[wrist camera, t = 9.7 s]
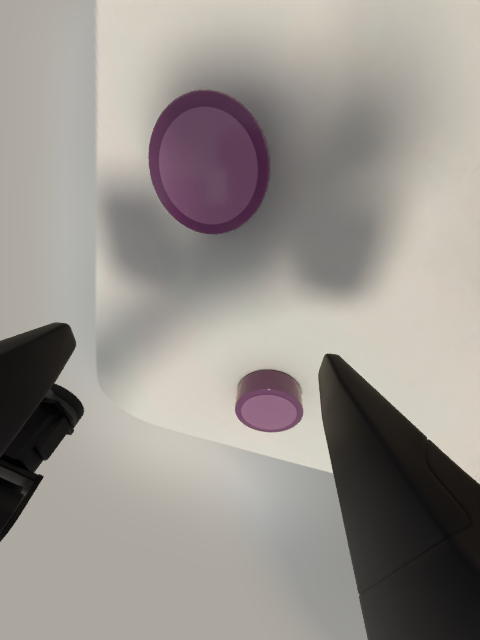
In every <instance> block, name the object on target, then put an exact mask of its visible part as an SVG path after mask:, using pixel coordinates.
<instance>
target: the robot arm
mask: <svg viewBox="0 0 480 640" xmlns="http://www.w3.org/2000/svg"><path fill="white" fill-rule="evenodd" d="M75 347H76V341H75V338H74V335H73V333H72V330H71V327H70V326H69V325H68V324H66V323H52V324H49V325H46V326H43V327H40V328H37V329H34V330H31V331H29V332H25V333H23V334H19V335H16V336H14V337H11V338H7V339H5V340H2V341H0V541H1V540H2V539H3V538H4V537H5V535H6V534H7V533H8V532H9V530H10V529H11V528H12V526H13V525H14V523H15V522H16V520H17V519H18V517H19V515H20V514H21V512H22V511H23V509H24V508H25V506H26V505H27V503H28V501H29V500H30V498H31V496H32V495H33V493H34V492H35V490H36V488H37V487H38V485H39V484H40V482H41V480H42V479H43V476H42V475H40V474H39V475H37V474H35V473H34V472H35V471H36V469H37V468H38V467H39V465H40V464H41V463H42V461H43V460H47V459H48V458H49V457H50V456H51V454H52V453H53V452H54V450H55V449H56V448H57V446H58V445H59V443H60V442H61V441H62V439H63V438H64V437H65V435H66V434H68V435H71V434H72V433H73V432H74V430H73V427H72V425H71V423H70V421H69V419H68V417H67V415H66V413H65V411H64V409H63V407H62V405H61V403H60V402H59V401H57V400H51V399H44V397H45V396H46V394H47V393H48V392H49V390H50V389H51V387H52V386H53V384H54V383H55V381H56V380H57V378H58V376H59V375H60V373H61V371H62V370H63V368H64V366H65V364H66V363H67V361H68V359H69V358H70V356H71V355H72V353H73V351H74V349H75ZM318 378H319V390H320V401H321V412H322V420H323V426H324V431H325V435H326V440H327V445H328V450H329V454H330V459H331V464H332V469H333V474H334V478H335V483H336V488H337V493H338V497H339V502H340V507H341V512H342V517H343V522H344V526H345V531H346V535H347V541H348V546H349V550H350V555H351V560H352V564H353V570H354V574H355V578H356V584H357V589H358V593H359V594H360V595H359V599H360V604H361V609H362V614H363V618H364V623H365V628H366V633H367V637H368V640H480V484H479V483H477V482H476V481H475V480H474V479H473V478H472V477H470V476H469V475H468V474H467V473H466V472H465V471H463V470H462V469H461V468H460V467H459V466H458V465H457V464H456V463H454V462H453V461H452V460H451V459H450V458H449V457H448V456H447V455H446V454H445V453H443V452H442V451H441V450H440V449H439V448H438V447H437V446H436V445H435V444H434V443H433V442H432V441H430V440H427V437H426V436H425V435H424V434H423V433H422V432H421V431H420V430H419V429H417V428H416V427H415V426H414V425H413V424H412V423H411V422H410V421H409V420H408V419H407V418H406V417H405V416H403V415H402V414H401V413H400V412H399V411H398V410H397V409H396V408H395V407H394V406H393V405H392V404H391V403H389V402H388V401H387V400H386V399H385V398H384V397H383V396H382V395H381V394H380V393H379V392H378V391H377V390H376V389H374V388H373V387H372V386H371V385H370V384H369V383H368V382H367V381H366V380H365V379H364V378H363V377H362V376H360V375H359V374H358V373H357V372H356V371H355V370H354V369H353V368H352V367H351V366H350V365H349V364H348V363H346V362H345V361H344V360H343V359H342V358H341V357H340V356H339V355H336V354H325V356H324V358H323V361H322V364H321V367H320V370H319V375H318Z"/></svg>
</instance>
